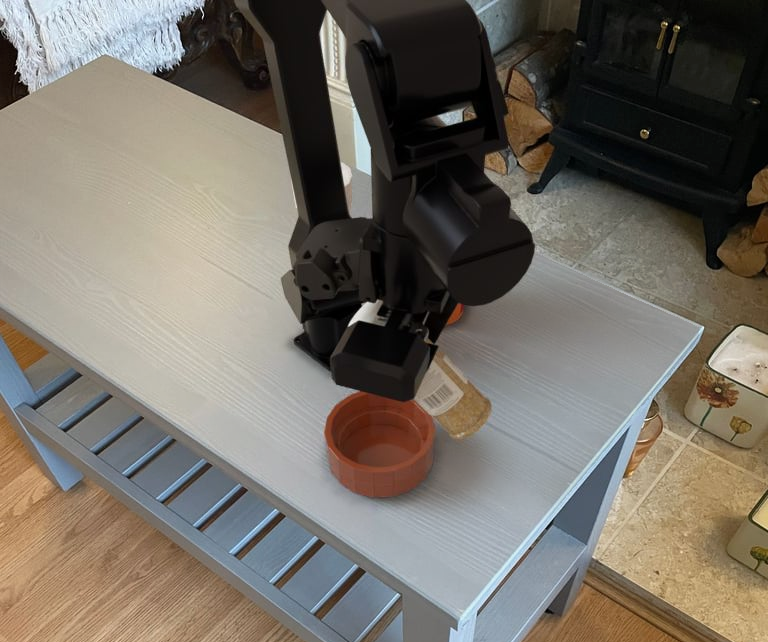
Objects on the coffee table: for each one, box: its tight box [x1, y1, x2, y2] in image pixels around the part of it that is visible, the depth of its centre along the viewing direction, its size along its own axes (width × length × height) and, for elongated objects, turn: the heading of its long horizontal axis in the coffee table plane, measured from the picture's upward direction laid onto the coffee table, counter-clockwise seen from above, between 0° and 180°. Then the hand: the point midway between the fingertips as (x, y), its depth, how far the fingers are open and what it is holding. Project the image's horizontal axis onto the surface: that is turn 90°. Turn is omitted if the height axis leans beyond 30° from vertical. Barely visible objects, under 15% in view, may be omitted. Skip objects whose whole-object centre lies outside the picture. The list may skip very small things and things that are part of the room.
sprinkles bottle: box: [348, 300, 493, 441], centre depth 66 cm, size 5×5×14 cm
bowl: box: [323, 391, 436, 498], centre depth 77 cm, size 10×10×4 cm
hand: (411, 375), depth 67 cm, fingers closed on sprinkles bottle, 4 cm apart
